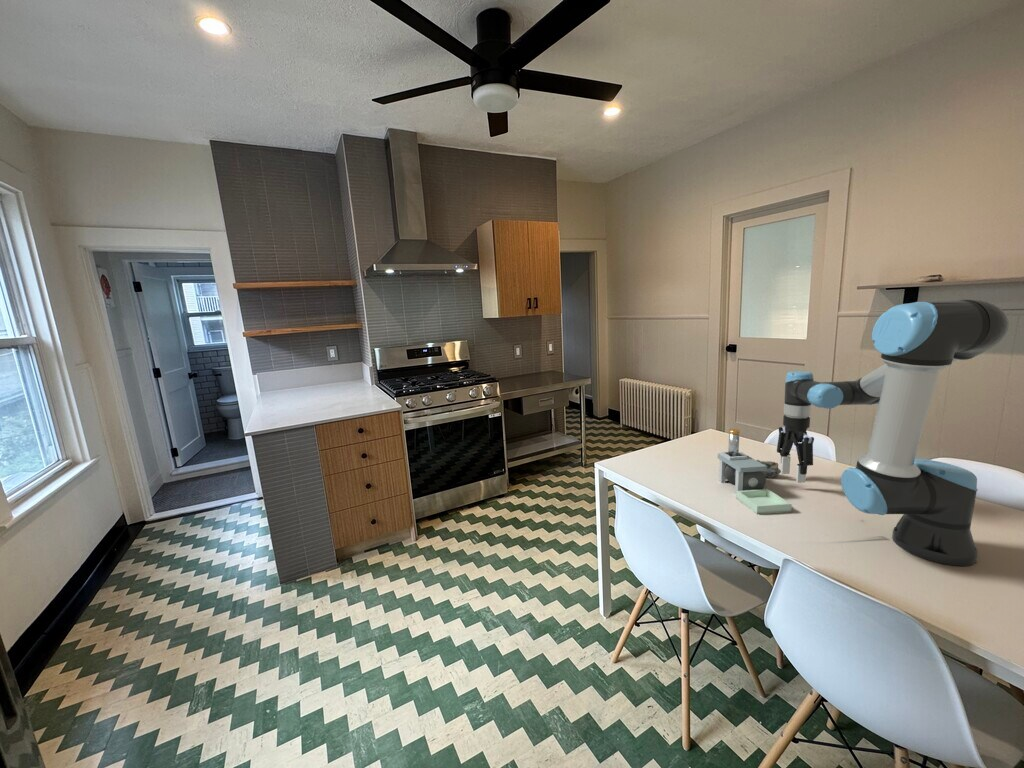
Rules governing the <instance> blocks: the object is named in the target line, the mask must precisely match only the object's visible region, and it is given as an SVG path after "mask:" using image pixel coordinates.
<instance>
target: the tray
mask: <svg viewBox="0 0 1024 768" xmlns="http://www.w3.org/2000/svg"><path fill="white" fill-rule="evenodd" d="M735 495H736V497H735V499H736V500H737V501H739V502H740V503H741V504H743V505H744V506H745V507H747V509H749V510H751V511H752V512H753V513H754V514H756V515H763V514H764V515H767V514H770V515H771V514H782V513H792V503H790V502H789V501H787V500H786V499H784V498H783V497H781V496H779V495H778V494H777V493H775V492H773V491H772V490H770V489H768V488H763V489H761V490H745V491H736V494H735Z"/></svg>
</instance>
